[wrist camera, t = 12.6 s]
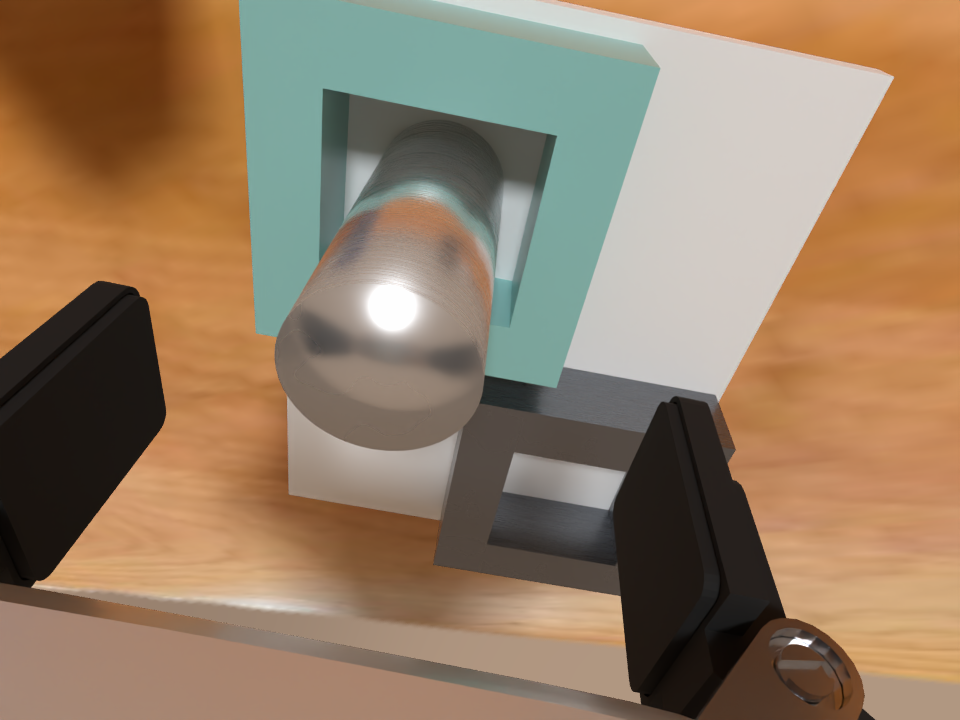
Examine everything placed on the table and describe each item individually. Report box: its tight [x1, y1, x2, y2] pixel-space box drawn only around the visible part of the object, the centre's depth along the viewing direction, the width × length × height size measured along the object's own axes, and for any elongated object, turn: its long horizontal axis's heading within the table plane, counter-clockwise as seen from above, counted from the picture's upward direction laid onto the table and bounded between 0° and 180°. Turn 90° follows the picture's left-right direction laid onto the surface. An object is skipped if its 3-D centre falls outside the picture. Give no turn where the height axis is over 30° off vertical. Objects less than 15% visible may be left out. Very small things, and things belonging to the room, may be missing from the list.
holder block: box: [433, 367, 736, 596], centre depth 25 cm, size 10×10×3 cm
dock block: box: [239, 0, 660, 388], centre depth 19 cm, size 10×10×3 cm
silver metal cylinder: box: [275, 120, 504, 451], centre depth 16 cm, size 4×4×10 cm
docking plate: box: [287, 0, 894, 520], centre depth 24 cm, size 17×22×1 cm
